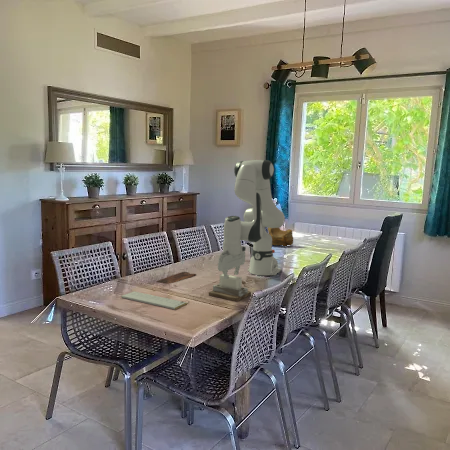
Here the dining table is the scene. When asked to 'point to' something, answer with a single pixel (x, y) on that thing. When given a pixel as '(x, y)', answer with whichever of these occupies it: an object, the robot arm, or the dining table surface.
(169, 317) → the dining table surface
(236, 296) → the track base
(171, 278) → the wooden tablet
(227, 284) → the pale green rectangular block
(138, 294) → the baseboard molding
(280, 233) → the rough brown rock
